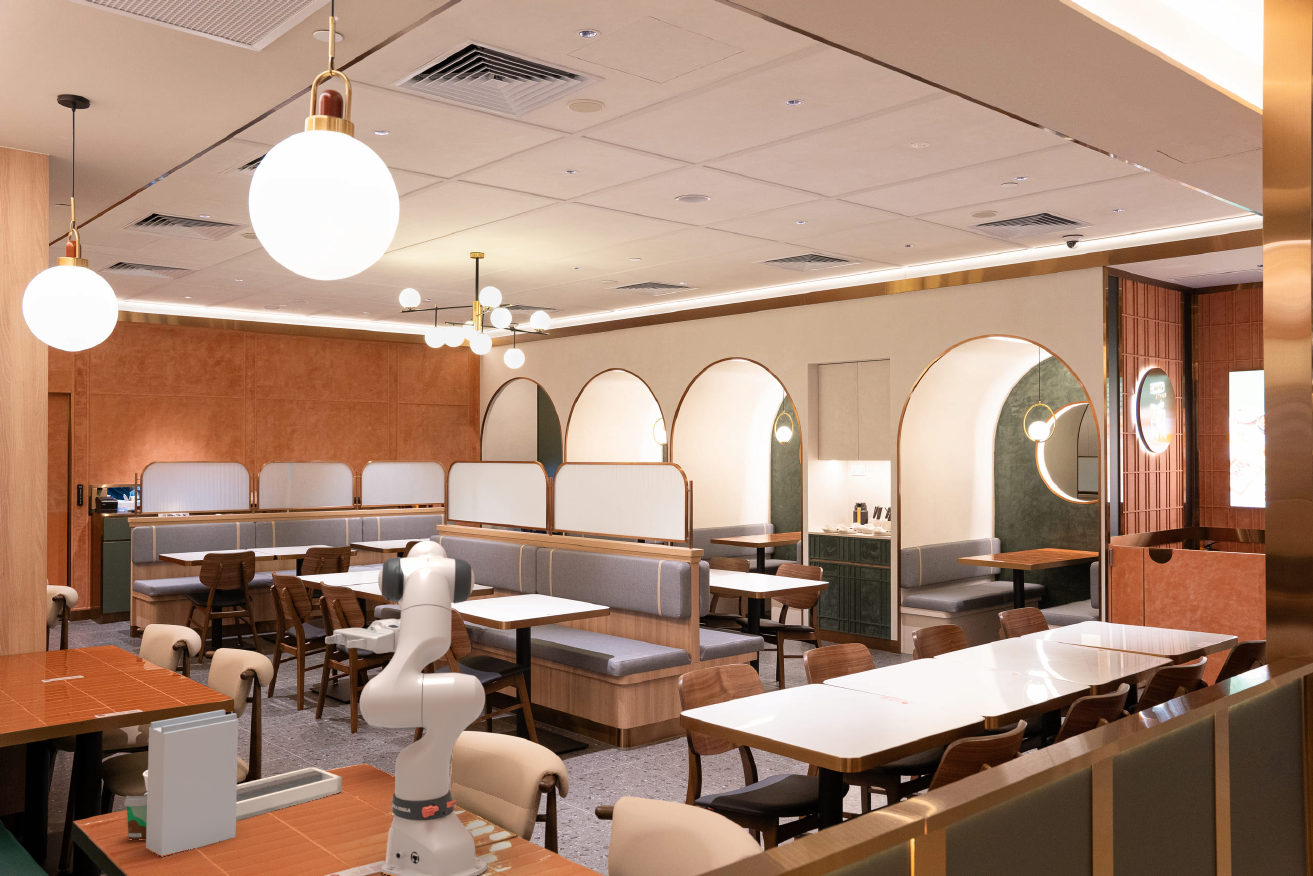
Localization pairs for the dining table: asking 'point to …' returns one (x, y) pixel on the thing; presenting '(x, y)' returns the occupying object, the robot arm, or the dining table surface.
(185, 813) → the channel block
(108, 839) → the dining table surface
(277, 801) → the tray
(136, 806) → the food container
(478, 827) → the dining table surface
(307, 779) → the dark gray bar
